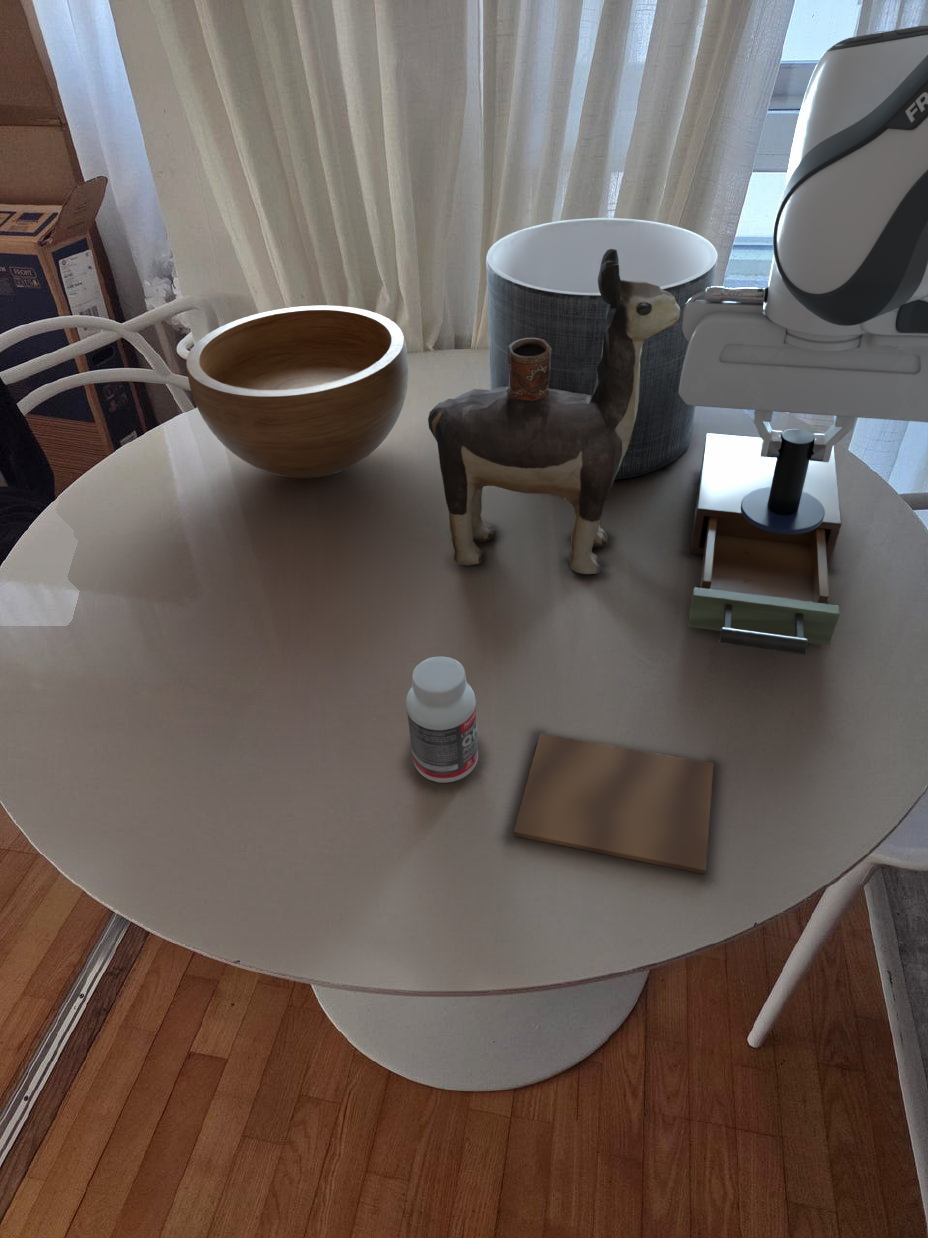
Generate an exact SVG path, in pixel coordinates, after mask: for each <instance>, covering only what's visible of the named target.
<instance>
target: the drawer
mask: <svg viewBox="0 0 928 1238" xmlns="http://www.w3.org/2000/svg"><path fill="white" fill-rule="evenodd" d="M701 565H702V566H701V576H700V584H699V587H696V586H695V587H693V591H692V598H691V603H690V609H689V615H688V622H687V627H689V628H696V629H703V630H704V629H705V630H711V631H712V630H713V631H718V632H720V635H719V643H720V644H723V645H732V646H739V647H746V648H752V649H759V650H760V649H761V650H765V651H766V650H767V651H773V652H781V653H789V654H793V655H794V654H795V655H802V656H805V655H806V654H807V650H808V644H812V645H813V644H814V645H819V646H828V647H830V645H831V643H832V639H833V636H834V633H835V630H836V627H837V623H838V620H839V617H840V606H839V605H837V604H830V603H829V599H830V588H829V587H830V585H829V574H828V573H829V572H828V570H827V557H826V543H825V529H823V528H816V529H814V530H812V531H809V532H806V533H801V534H777V533H772V532H768V531H765V530H762V529H760V528H758V527H756V526H754V525H752V524H751V523H749V522H748V521H747V520H740V519H730V518H721V517H712V516H709V518H708V524H707V530H706V536H705V546H704V555H702V564H701Z"/></svg>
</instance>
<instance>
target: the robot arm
mask: <svg viewBox="0 0 928 1238" xmlns="http://www.w3.org/2000/svg"><path fill="white" fill-rule="evenodd" d="M787 168H788V169H787V173H786V179H785V180H786V182H785V187H784V189H783V192H782V194H781V197H780V200H779V202H778V206H777V209H776V214H775V217H774V222H773V230H772V252H773V256H772V263H771V268H770V273H769V280H768V286H767V287H735V288H732V287H729V288H728V287H726V288H725V287H724V286H718V285H717V286H715V285H714V287H708V288H706V291H704V292H700V293H697V294H695V295H694V296H692V297H691V298H690V299H689V300H688V301H687V303H686V305H685V307H684V310H683V319H682V333H683V336H684V337H685V339H686V340H687V341H688V346H687V350H686V354H685V358H684V362H683V367H682V372H681V378H680V384H679V391H678V393H679V395H680V397H681V398H682V400H683V401H684V402H685V403H686V404H687V405H690V406H695V407H702V408H703V407H705V408H719V409H733V410H745V411H753V420H752V421H753V424H754V425H755V428H756V430H757V432H758V435H759V436H760V438H762V443H761V452H760V457H772V458H778V457H779V453H780V448H781V443H782V437H781V436H782V433H783V431H782V430H774V429H773V428H772V426H771V424H770V422H772V418H773V414H774V412H776V413H791V414H804V415H816V416H817V415H819V416H829V417H833V420H834V421H833V423H832V425H830V426H829V428H827V430H826V431H825V432H824V433H813V435H814V437H815V439H814V443H813V448H812V452H811V456H810V461H820V462H829V460H830V456H831V452H832V448H833V445H834V446H836V445H837V444H838V443H839V442H840V441H841V440H842V439H843V438H844V437H845V436H846V435H848V434H849V433H850V432H851V431H852V430H853V429H854V425H855V422H856V421H855V420H856V418H860V419H873V420H888V421H900V422H901V421H902V422H916V423H928V24H927V25H917V26H911V27H906V28H899V29H893V30H889V31H883V32H876V33H869V34H864V35H858V36H852V37H848V38H844V39H843V40H841V41H839V42H836V43H835V44H833V45H832V46H831V47H829V48H828V49H827V50H826V51H824V53H823V54H822V55H821V56H820V58H819V60H818V61H817V64H816V66H815V67H814V70H813V71H812V74H811V77H810V79H809V82H808V84H807V87H806V90H805V93H804V96H803V99H802V103H801V106H800V110H799V115H798V118H797V123H796V127H795V131H794V137H793V142H792V145H791V151H790V157H789V163H788V167H787ZM702 297H705V300H697V299H699V298H702Z"/></svg>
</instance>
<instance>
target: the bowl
mask: <svg viewBox="0 0 928 1238" xmlns="http://www.w3.org/2000/svg"><path fill="white" fill-rule="evenodd" d="M409 366H410V365H409V354H408V348H407V343H406V340H405V337H404V333H403V331H402V329H401V328H400V326H399V325H398V324H397V323H396V322H395V321H393V320H392V319H390V318H388V317H386V316H385V315H382V314H380V313H377V312H374V311H371V310H368V309H363V308H358V307H353V306H352V307H351V306H343V305H303V306H301V305H300V306H293V307H291V306H290V307H285V308H278V309H273V310H266V311H263V312H260V313H255V314H252V315H248V316H245V317H242V318H239V319H236V320H234V321H230V322H229V323H226V324H224V325H222V326H220V327H218V328H216V329H214V330H212V331H210V332H209V333H207V334H206V335H205V336H203V337H202V338H200V339H199V340H198V341H197V342H196V343H195V344H194V345H193V346H192V347H191V349H190V351H189V352H188V355H187V357H186V373H187V379H188V384H189V389H190V392H191V395H192V399H193V401H194V404H195V406H196V408H197V410H198V412H199V414H200V416H201V418H202V419H203V421H204V423H205V424H206V425H207V427H208V429H209V430H210V432H211V433H212V434H213V436H215V438H216V439H217V440H218V441H219V442H220V443H221V444H223V446H224V447H225V448H226V449H227V450H229V451H230V452H231V453H232V454H234V455H235V456H236V457H237V458H239V459H240V460H242V461H243V462H245V463H246V464H249V465H251V466H253V467H255V468H256V469H259V470H262V471H263V472H266V473H270V474H274V475H277V476H281V477H282V476H283V477H287V478H288V477H289V478H295V479H309V478H319V477H326V476H330V475H333V474H336V473H341V472H342V471H344V470H347V469H349V468H351V467H353V466H355V465H356V464H358V463H359V462H361V461H363V460H364V459H366V458H367V457H369V456H370V455H371V454H372V453H373V452H374V451H375V450H376V449H378V447H379V446H380V445H381V444H383V442H384V441H385V439H387V437H388V435H389V434H390V433H391V432H392V430H393V429H394V426H395V425H396V423H397V420H398V419H399V417H400V414H401V411H402V409H403V407H404V403H405V400H406V396H407V393H408V392H407V391H408V385H409V374H410V373H409V372H410V371H409V370H410V369H409V368H410V367H409Z"/></svg>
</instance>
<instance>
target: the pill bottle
mask: <svg viewBox="0 0 928 1238" xmlns="http://www.w3.org/2000/svg"><path fill="white" fill-rule="evenodd" d="M466 675H467V674H466V670H465V668H464V666H463V665H462V663H461V662H459V661H458V660H456V659H454V658H452V657H448V656H433V657H428V658H425V659H424V660H422V661H421V662H419V663H418V664H417V665H416V666H415V667H414V669H413V671H412V678H411V679H412V680H411V681H412V686H411V687H410V688H409V691H408V693H407V696H406V699H405V709H406V716H407V722H408V728H409V729H408V730H409V738H410V747H411V753H412V761H413V764H414V765H413V766H414V767H415V769H416V770H417V771H418V773H419V774H420V775H421V776H422V777H424V778H425V779H427V780H429V781H432V782H436V783H440V784H441V783H444V784H446V783H452V782H456V781H460V780H461V779H464V778H465V777H467V776H468V775H470V774H471V773H472V771H473V770H474V769H475V767H476V766H477V763H478V760H479V740H478V722H477V701H476V696H475V695H476V694H475V692H474V690H473V688H472V687H471V685H470V684H469V683H468V682H467V677H466Z"/></svg>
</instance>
